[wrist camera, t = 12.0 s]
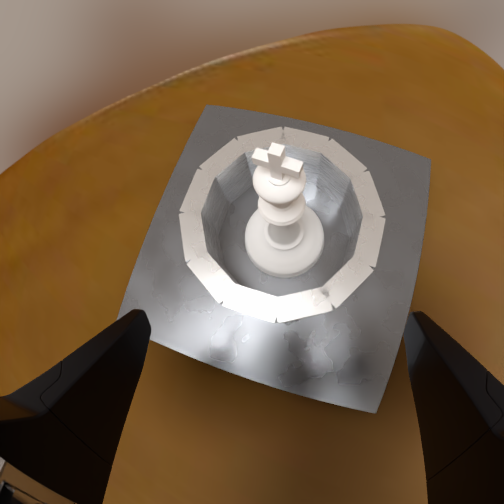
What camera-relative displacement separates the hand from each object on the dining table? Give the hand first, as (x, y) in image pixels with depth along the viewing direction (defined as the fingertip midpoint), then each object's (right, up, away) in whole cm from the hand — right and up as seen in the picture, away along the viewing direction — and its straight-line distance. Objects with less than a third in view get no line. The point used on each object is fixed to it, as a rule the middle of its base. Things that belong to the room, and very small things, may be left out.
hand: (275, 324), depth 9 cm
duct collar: (+1, +3, +10) cm, 11 cm away
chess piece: (+1, +3, +9) cm, 10 cm away
